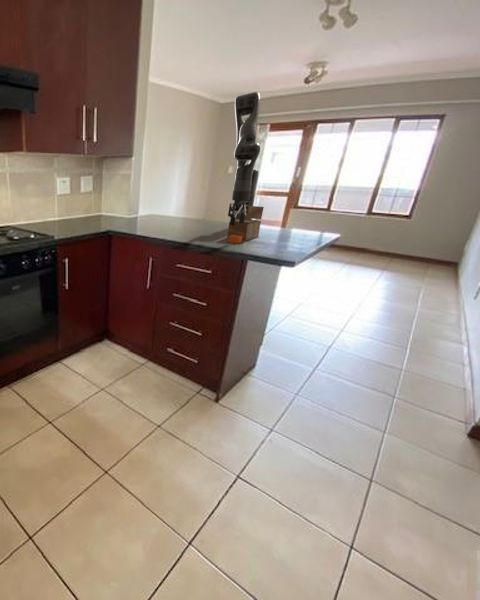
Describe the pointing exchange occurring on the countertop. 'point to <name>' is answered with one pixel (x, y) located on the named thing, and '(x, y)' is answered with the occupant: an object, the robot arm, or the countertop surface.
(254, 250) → the countertop surface
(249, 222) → the carton
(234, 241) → the packet
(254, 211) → the flap
